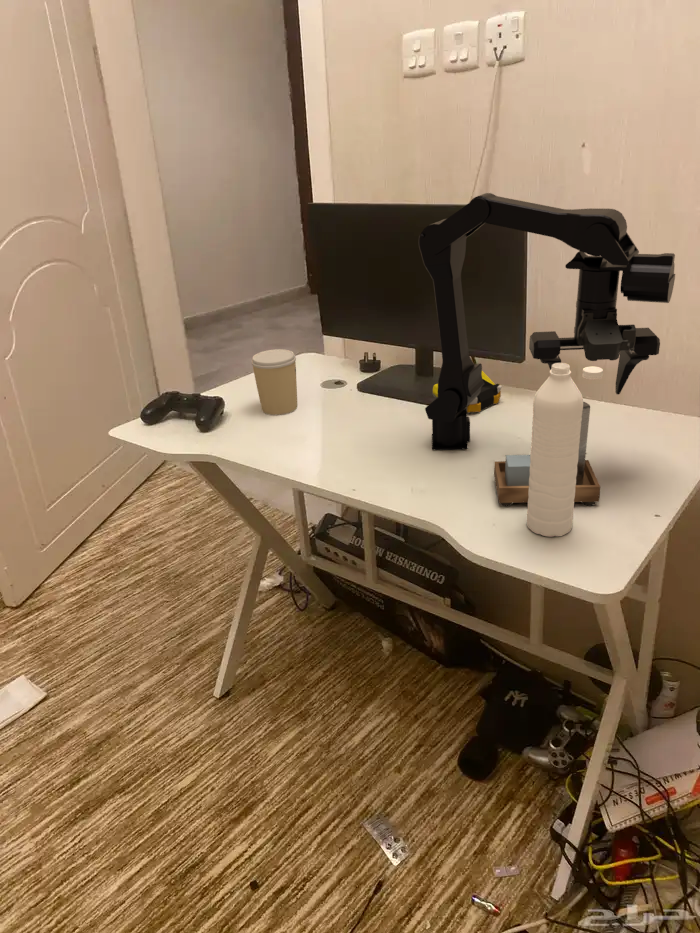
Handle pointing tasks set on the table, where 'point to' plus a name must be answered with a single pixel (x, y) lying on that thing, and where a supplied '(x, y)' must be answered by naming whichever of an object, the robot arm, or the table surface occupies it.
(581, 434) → the metal cylinder
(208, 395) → the table surface
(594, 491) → the walnut tray
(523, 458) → the pale grey cube
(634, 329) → the robot arm
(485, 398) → the gaming controller
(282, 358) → the coffee cup
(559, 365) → the water bottle
